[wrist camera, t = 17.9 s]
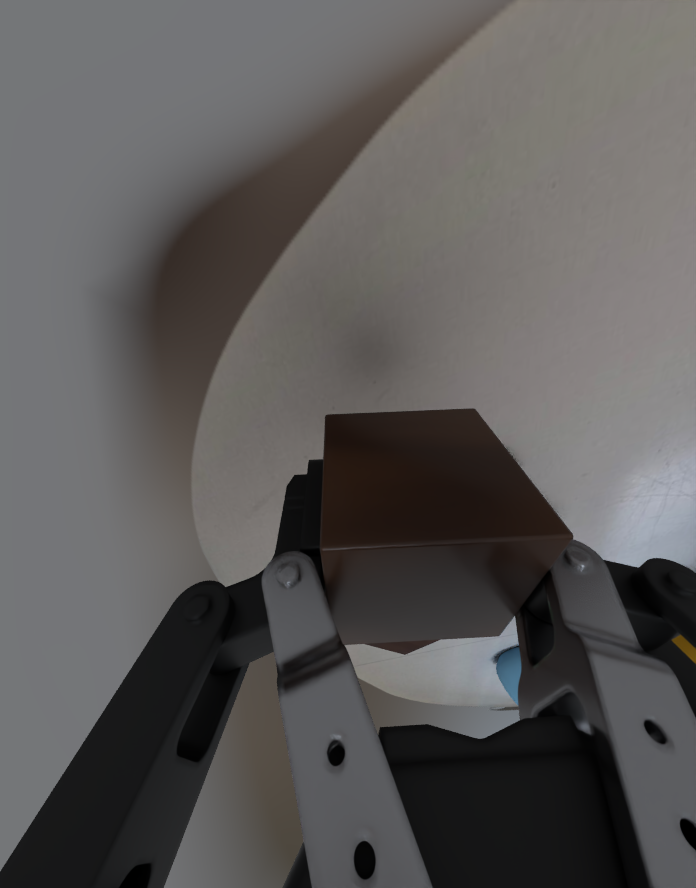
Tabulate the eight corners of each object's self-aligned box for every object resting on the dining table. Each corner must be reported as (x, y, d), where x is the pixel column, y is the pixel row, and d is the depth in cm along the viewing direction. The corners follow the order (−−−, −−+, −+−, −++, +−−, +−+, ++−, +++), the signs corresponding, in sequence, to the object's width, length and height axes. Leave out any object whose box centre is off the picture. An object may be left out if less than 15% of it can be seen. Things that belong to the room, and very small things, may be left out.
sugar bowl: (493, 646, 57) (523, 727, 48) (573, 636, 55) (621, 718, 46) (491, 669, 66) (516, 740, 57) (560, 660, 64) (597, 733, 55)
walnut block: (333, 512, 12) (333, 646, 8) (324, 413, 9) (319, 549, 5) (447, 507, 13) (499, 637, 9) (475, 407, 10) (576, 536, 6)
